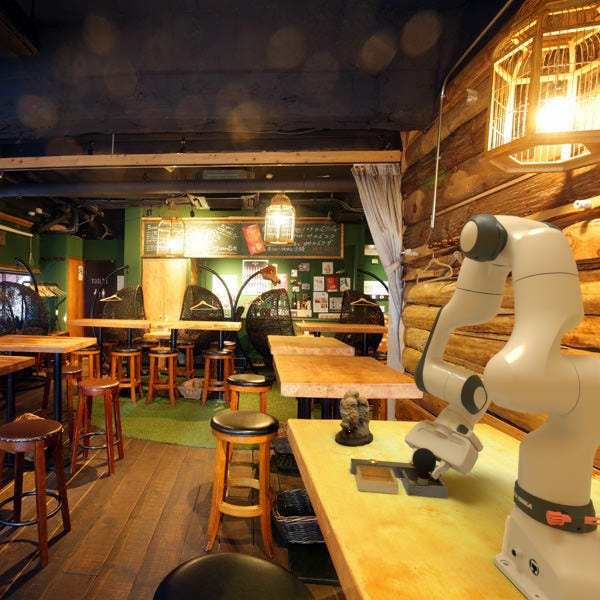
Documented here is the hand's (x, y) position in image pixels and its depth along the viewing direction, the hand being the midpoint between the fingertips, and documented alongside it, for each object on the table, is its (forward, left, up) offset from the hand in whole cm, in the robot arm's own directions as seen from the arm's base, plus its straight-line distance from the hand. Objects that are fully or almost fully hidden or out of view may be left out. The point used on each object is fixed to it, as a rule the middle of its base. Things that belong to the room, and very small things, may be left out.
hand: (421, 470), depth 100 cm
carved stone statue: (+33, +14, -5) cm, 37 cm away
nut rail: (+2, +5, -4) cm, 7 cm away
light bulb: (0, -1, -5) cm, 5 cm away
